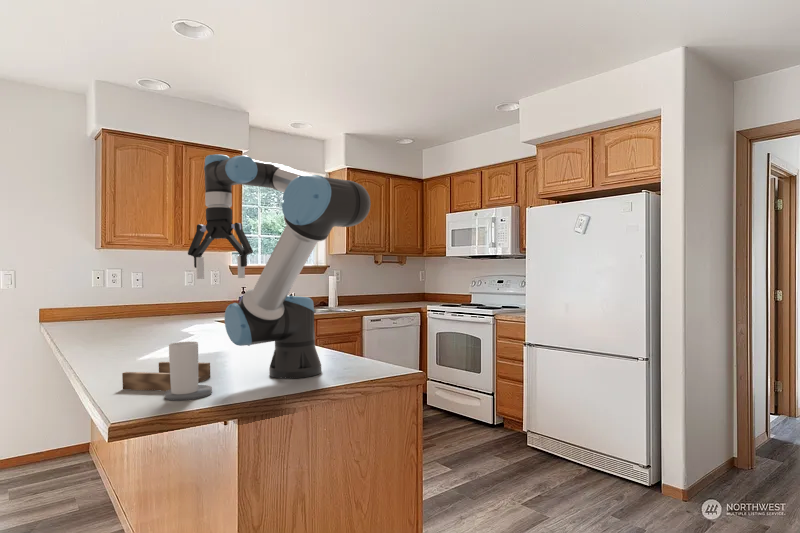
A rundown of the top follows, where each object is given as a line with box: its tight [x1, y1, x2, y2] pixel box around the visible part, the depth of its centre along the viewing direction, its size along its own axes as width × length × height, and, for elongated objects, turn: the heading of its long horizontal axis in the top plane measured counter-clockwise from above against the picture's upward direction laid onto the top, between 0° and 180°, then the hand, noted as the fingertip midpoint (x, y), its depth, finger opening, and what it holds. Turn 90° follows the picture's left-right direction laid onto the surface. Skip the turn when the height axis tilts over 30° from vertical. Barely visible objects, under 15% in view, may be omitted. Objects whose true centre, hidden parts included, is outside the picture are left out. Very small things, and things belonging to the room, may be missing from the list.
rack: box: [121, 361, 211, 392], centre depth 142 cm, size 16×16×4 cm
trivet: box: [164, 384, 213, 402], centre depth 129 cm, size 11×11×1 cm
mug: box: [168, 341, 199, 395], centre depth 129 cm, size 10×7×12 cm, turn 5°
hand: (220, 278), depth 153 cm, fingers open, 13 cm apart
